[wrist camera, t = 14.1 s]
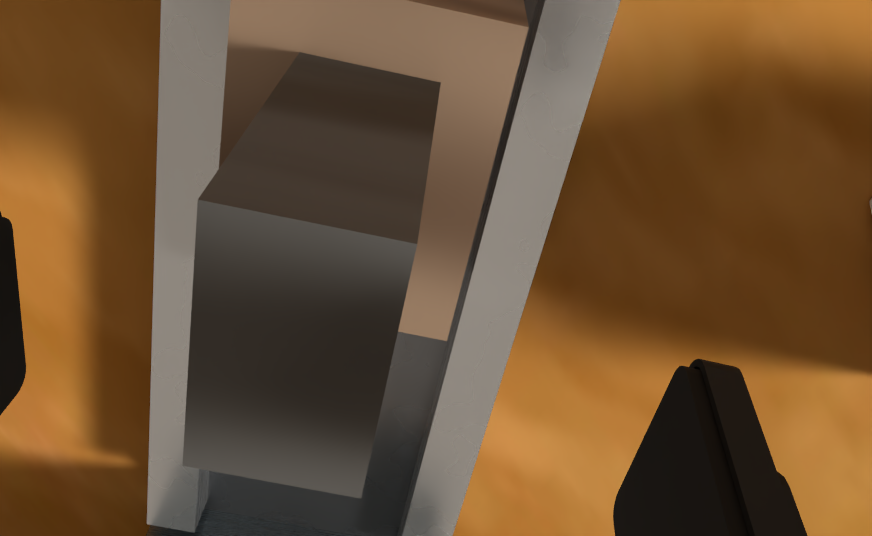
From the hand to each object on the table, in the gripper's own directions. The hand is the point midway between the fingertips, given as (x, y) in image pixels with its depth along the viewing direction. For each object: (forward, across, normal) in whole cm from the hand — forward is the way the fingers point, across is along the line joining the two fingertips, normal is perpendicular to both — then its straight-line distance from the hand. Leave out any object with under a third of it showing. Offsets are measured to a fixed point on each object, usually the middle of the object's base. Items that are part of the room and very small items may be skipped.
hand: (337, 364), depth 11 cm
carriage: (+11, +1, +1) cm, 11 cm away
